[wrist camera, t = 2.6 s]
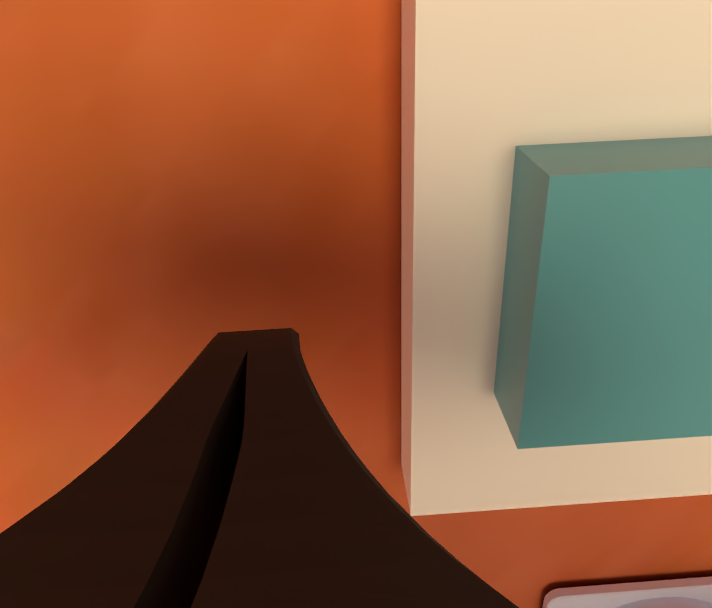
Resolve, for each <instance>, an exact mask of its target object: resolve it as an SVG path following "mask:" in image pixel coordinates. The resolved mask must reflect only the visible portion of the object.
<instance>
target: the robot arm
mask: <svg viewBox="0 0 712 608" xmlns="http://www.w3.org/2000/svg"><path fill="white" fill-rule="evenodd" d="M0 608H519V607H517V606H516V605H515V604H513V603H512V602H511V601H509V600H508V599H507V598H505V597H504V596H503V595H501V594H500V593H499V592H497V591H496V590H495V589H493V588H492V587H491V586H489V585H488V584H487V583H485V582H484V581H483V580H482V579H480V578H479V577H478V576H477V575H476V574H474V573H473V572H472V571H471V570H469V569H468V568H467V567H466V566H464V565H463V564H462V563H461V562H459V561H458V560H457V559H456V558H455V557H454V556H453V555H451V554H450V553H449V552H448V551H447V550H446V549H445V548H444V547H442V546H441V545H440V544H439V543H438V542H437V541H436V540H435V539H433V538H432V537H431V536H430V535H429V534H428V533H427V532H426V531H425V530H424V529H423V528H422V527H421V526H420V525H419V524H418V523H417V522H416V521H415V520H414V519H413V518H412V517H411V516H410V515H409V514H408V513H407V512H406V511H405V510H404V509H403V508H402V507H401V506H400V505H399V504H398V503H397V502H396V501H395V500H394V499H393V498H392V497H391V496H390V495H389V494H388V493H387V491H386V490H385V489H384V488H383V487H382V486H381V484H380V483H379V482H378V481H377V480H376V479H375V477H374V476H373V475H372V474H371V473H370V471H369V470H368V469H367V468H366V466H365V465H364V464H363V463H362V461H361V460H360V459H359V457H358V456H357V455H356V453H355V452H354V451H353V449H352V448H351V447H350V445H349V444H348V442H347V441H346V439H345V438H344V436H343V435H342V434H341V432H340V430H339V429H338V427H337V426H336V424H335V422H334V421H333V419H332V418H331V416H330V414H329V413H328V411H327V409H326V407H325V406H324V404H323V402H322V400H321V398H320V396H319V394H318V392H317V390H316V388H315V386H314V384H313V382H312V380H311V378H310V376H309V373H308V371H307V369H306V366H305V363H304V360H303V358H302V354H301V351H300V342H299V334H298V333H297V332H296V331H295V330H293V329H292V328H285V329H269V330H253V331H237V332H221V333H218V334H217V335H216V336H215V337H214V338H213V339H212V340H211V341H210V343H209V344H208V345H207V346H206V347H205V348H204V350H203V351H202V352H201V353H200V355H199V356H198V357H197V358H196V359H195V361H194V362H193V363H192V364H191V365H190V366H189V368H188V369H187V370H186V371H185V372H184V374H183V375H182V376H181V377H180V378H179V379H178V380H177V382H176V383H175V384H174V385H173V386H172V387H171V388H170V389H169V390H168V392H167V393H166V394H165V395H164V396H163V397H162V398H161V399H160V400H159V402H158V403H157V404H156V405H155V406H154V407H153V408H152V409H151V410H150V411H149V412H148V413H147V414H146V415H145V416H144V417H143V418H142V419H141V420H140V421H139V422H138V423H137V424H136V425H135V426H134V427H133V428H132V429H131V430H130V431H129V432H128V433H127V434H126V435H125V436H124V437H123V438H122V439H121V440H120V441H119V442H118V443H117V444H116V445H115V446H114V447H112V448H111V449H110V450H109V451H108V452H107V453H106V454H105V455H103V456H102V457H101V458H100V459H99V460H98V461H97V462H95V463H94V464H93V465H92V466H90V467H89V468H88V469H87V470H86V471H84V472H83V473H82V474H81V475H79V476H78V477H77V478H76V479H75V480H73V481H72V482H71V483H70V484H68V485H67V486H66V487H65V488H63V489H62V490H61V491H59V492H58V493H57V494H55V495H54V496H53V497H51V498H50V499H48V500H47V501H46V502H44V503H43V504H41V505H40V506H39V507H37V508H36V509H34V510H33V511H32V512H30V513H29V514H27V515H26V516H24V517H23V518H22V519H20V520H19V521H17V522H16V523H15V524H13V525H12V526H10V527H9V528H8V529H6V530H5V531H3V532H2V533H1V534H0ZM543 608H712V576H709V577H696V578H684V579H671V580H658V581H645V582H632V583H619V584H606V585H593V586H580V587H567V588H557V589H553V590H551V591H550V592H548V593H547V594H546V596H545V598H544V602H543Z"/></svg>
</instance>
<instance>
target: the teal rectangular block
mask: <svg viewBox="0 0 712 608" xmlns="http://www.w3.org/2000/svg"><path fill="white" fill-rule="evenodd" d="M494 395H495V397H496V399H497V402H498V404H499V407H500V409H501V411H502V414H503V416H504V418H505V421H506V423H507V425H508V428H509V430H510V433H511V435H512V437H513V440H514V442H515V444H516V447H517V449H527V448H542V447H556V446H571V445H585V444H600V443H614V442H629V441H643V440H658V439H672V438H687V437H701V436H712V136H697V137H677V138H658V139H638V140H618V141H599V142H579V143H559V144H540V145H520V146H516V148H515V159H514V171H513V182H512V193H511V204H510V215H509V227H508V238H507V249H506V260H505V272H504V283H503V294H502V305H501V316H500V328H499V339H498V350H497V361H496V372H495V384H494Z"/></svg>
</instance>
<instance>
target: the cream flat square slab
mask: <svg viewBox="0 0 712 608" xmlns="http://www.w3.org/2000/svg"><path fill="white" fill-rule="evenodd" d="M697 136H712V0H402V40H401V465H402V471H403V477H404V482H405V488H406V494H407V499H408V505H409V510H410V516H419V515H433V514H447V513H460V512H474V511H488V510H502V509H516V508H529V507H543V506H557V505H571V504H584V503H598V502H612V501H626V500H640V499H653V498H667V497H681V496H695V495H708V494H712V436H701V437H687V438H672V439H658V440H643V441H629V442H614V443H600V444H585V445H571V446H556V447H542V448H527V449H517V447H516V444H515V442H514V440H513V437H512V435H511V433H510V430H509V428H508V425H507V423H506V421H505V418H504V416H503V414H502V411H501V409H500V407H499V404H498V402H497V399H496V397H495V395H494V384H495V372H496V361H497V350H498V339H499V328H500V316H501V305H502V294H503V283H504V272H505V260H506V249H507V238H508V227H509V215H510V204H511V193H512V182H513V171H514V159H515V148H516V146H520V145H540V144H559V143H579V142H599V141H618V140H638V139H658V138H677V137H697Z"/></svg>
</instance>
